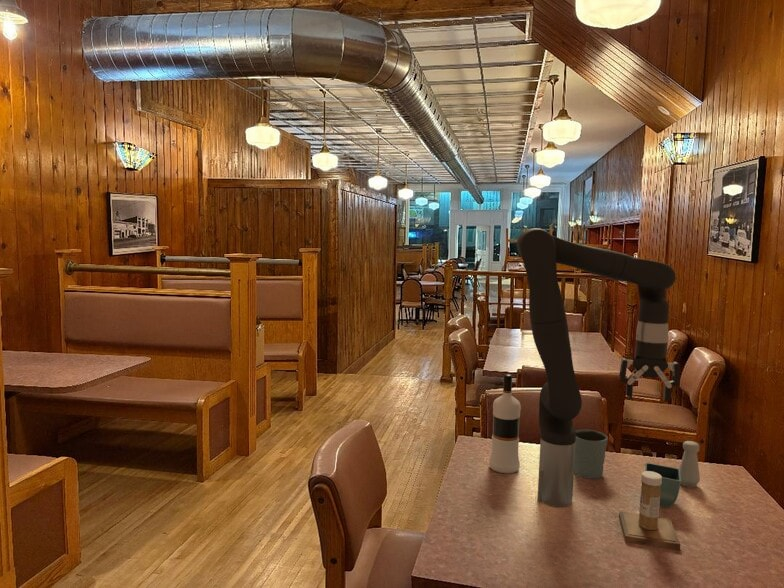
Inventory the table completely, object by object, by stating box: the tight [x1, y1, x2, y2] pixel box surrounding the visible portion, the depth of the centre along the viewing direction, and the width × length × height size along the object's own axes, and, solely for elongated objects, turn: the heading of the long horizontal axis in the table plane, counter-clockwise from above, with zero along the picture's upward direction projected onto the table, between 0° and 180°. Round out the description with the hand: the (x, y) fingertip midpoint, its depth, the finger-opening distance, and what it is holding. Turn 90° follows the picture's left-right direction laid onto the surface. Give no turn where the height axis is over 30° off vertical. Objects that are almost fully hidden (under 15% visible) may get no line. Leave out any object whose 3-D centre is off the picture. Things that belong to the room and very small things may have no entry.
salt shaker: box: [678, 440, 701, 489], centre depth 163 cm, size 6×6×13 cm
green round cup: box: [574, 429, 609, 480], centre depth 170 cm, size 10×10×12 cm
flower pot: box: [644, 462, 681, 508], centre depth 152 cm, size 9×9×9 cm
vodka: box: [488, 373, 522, 475], centre depth 171 cm, size 9×9×30 cm
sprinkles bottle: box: [638, 470, 662, 530], centre depth 136 cm, size 5×5×13 cm
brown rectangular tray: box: [618, 511, 681, 551], centre depth 137 cm, size 12×12×2 cm
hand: (647, 399), depth 146 cm, fingers open, 8 cm apart
